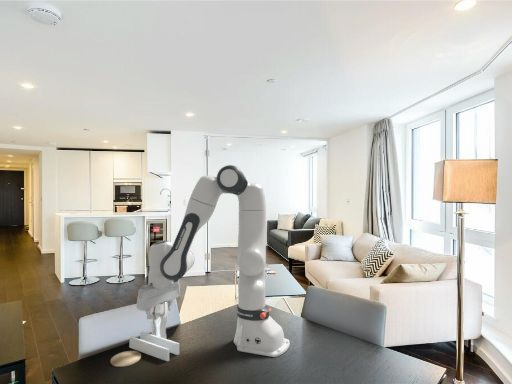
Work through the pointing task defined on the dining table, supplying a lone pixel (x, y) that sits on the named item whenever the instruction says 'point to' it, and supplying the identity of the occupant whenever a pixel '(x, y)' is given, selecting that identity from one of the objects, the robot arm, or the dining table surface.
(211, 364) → the dining table surface
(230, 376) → the dining table surface
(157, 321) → the beer glass
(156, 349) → the low plastic fence
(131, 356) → the cork coaster
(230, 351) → the dining table surface
